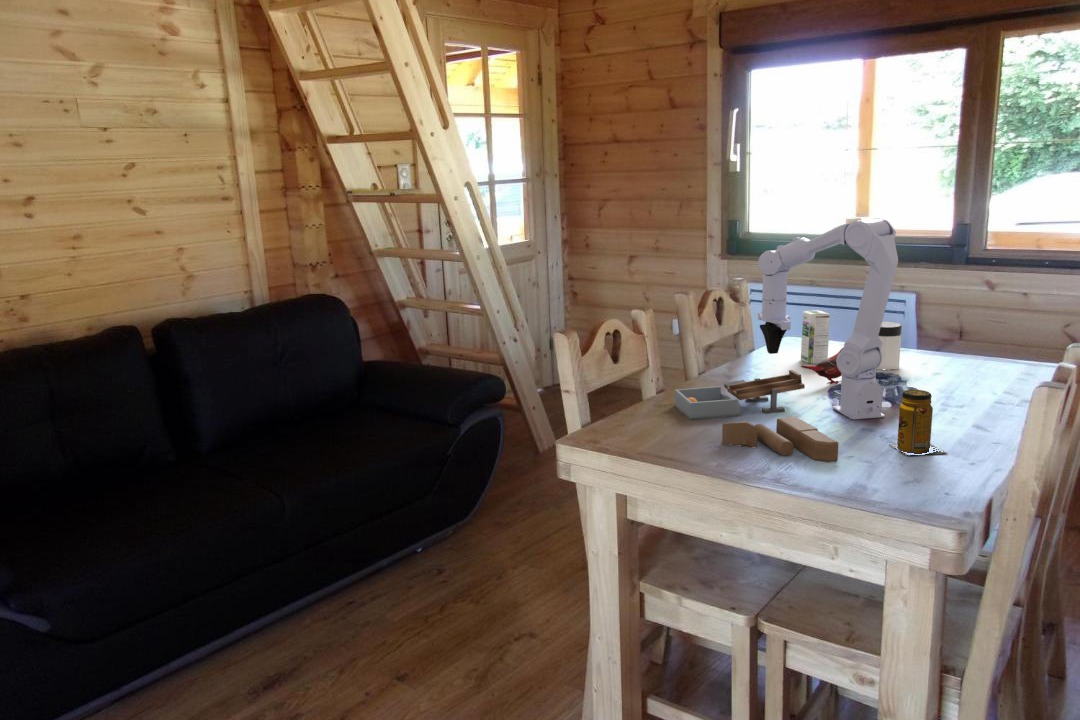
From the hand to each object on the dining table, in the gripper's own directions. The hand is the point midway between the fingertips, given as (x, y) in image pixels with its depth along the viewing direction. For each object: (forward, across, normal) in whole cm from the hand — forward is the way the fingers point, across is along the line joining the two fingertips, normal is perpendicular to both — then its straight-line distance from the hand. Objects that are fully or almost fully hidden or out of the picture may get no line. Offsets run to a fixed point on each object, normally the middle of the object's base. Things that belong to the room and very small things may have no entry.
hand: (772, 353), depth 209 cm
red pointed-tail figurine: (+11, +3, -17) cm, 20 cm away
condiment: (+11, -46, -10) cm, 49 cm away
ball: (+8, -10, +24) cm, 28 cm away
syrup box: (+11, +28, -26) cm, 39 cm away
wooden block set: (+11, -40, +17) cm, 45 cm away
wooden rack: (+6, -8, +6) cm, 12 cm away
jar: (+11, +16, -40) cm, 45 cm away
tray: (+10, -10, +21) cm, 25 cm away
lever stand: (+10, -10, +6) cm, 16 cm away
